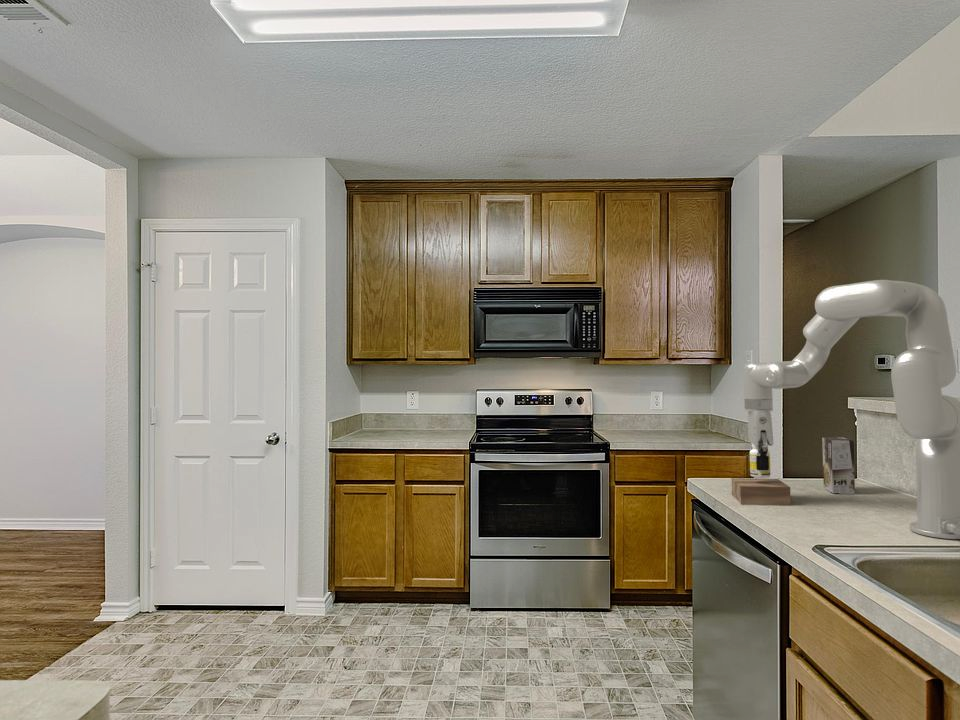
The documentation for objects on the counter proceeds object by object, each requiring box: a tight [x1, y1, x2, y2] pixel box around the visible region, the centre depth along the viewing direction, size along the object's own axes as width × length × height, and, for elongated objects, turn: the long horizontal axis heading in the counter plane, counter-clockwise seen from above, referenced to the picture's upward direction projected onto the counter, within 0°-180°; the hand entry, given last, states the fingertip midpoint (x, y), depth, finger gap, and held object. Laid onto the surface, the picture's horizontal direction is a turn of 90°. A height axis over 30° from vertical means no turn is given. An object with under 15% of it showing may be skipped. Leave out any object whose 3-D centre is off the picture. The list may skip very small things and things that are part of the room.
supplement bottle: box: [749, 443, 771, 479], centre depth 189 cm, size 5×5×10 cm
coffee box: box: [821, 436, 856, 495], centre depth 199 cm, size 9×6×16 cm
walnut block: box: [731, 477, 792, 506], centre depth 189 cm, size 13×13×5 cm
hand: (760, 467), depth 189 cm, fingers closed on supplement bottle, 5 cm apart
